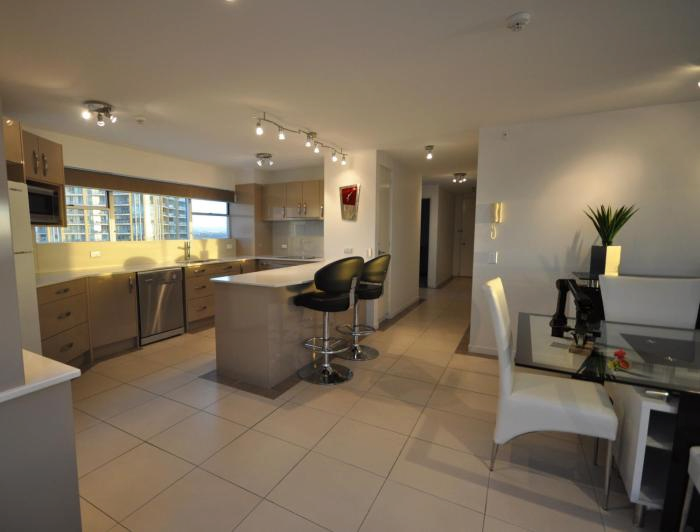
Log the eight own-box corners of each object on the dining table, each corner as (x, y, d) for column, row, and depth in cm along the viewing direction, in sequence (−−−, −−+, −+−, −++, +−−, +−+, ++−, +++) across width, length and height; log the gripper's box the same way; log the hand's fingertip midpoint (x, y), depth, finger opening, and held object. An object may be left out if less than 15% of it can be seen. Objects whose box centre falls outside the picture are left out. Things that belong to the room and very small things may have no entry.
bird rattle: (627, 374, 170) (607, 362, 176) (640, 357, 165) (619, 345, 171) (624, 377, 166) (604, 365, 172) (637, 360, 161) (616, 348, 167)
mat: (549, 346, 205) (549, 346, 205) (553, 342, 212) (553, 341, 212) (566, 349, 199) (567, 349, 199) (569, 345, 206) (570, 344, 206)
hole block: (568, 352, 194) (568, 347, 194) (574, 343, 209) (574, 339, 208) (589, 356, 187) (589, 351, 187) (593, 347, 202) (594, 342, 202)
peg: (576, 351, 194) (577, 334, 193) (577, 349, 196) (578, 333, 195) (582, 352, 192) (583, 335, 191) (583, 350, 194) (584, 334, 193)
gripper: (560, 319, 192) (559, 345, 194) (600, 325, 180) (598, 353, 182) (564, 315, 201) (562, 340, 202) (602, 320, 188) (601, 347, 190)
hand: (580, 345), depth 194 cm, fingers closed on peg, 3 cm apart
